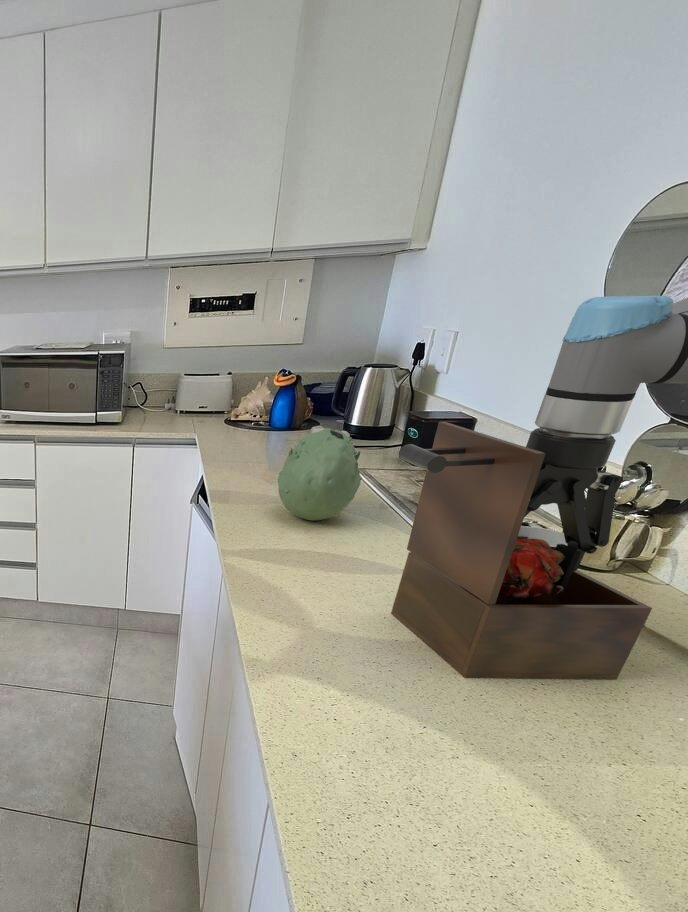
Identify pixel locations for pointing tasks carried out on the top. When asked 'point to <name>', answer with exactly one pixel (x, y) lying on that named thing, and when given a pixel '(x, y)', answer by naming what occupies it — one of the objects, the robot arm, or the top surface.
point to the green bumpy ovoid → (320, 474)
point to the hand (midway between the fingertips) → (512, 590)
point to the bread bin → (521, 627)
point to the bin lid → (471, 505)
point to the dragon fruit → (532, 569)
